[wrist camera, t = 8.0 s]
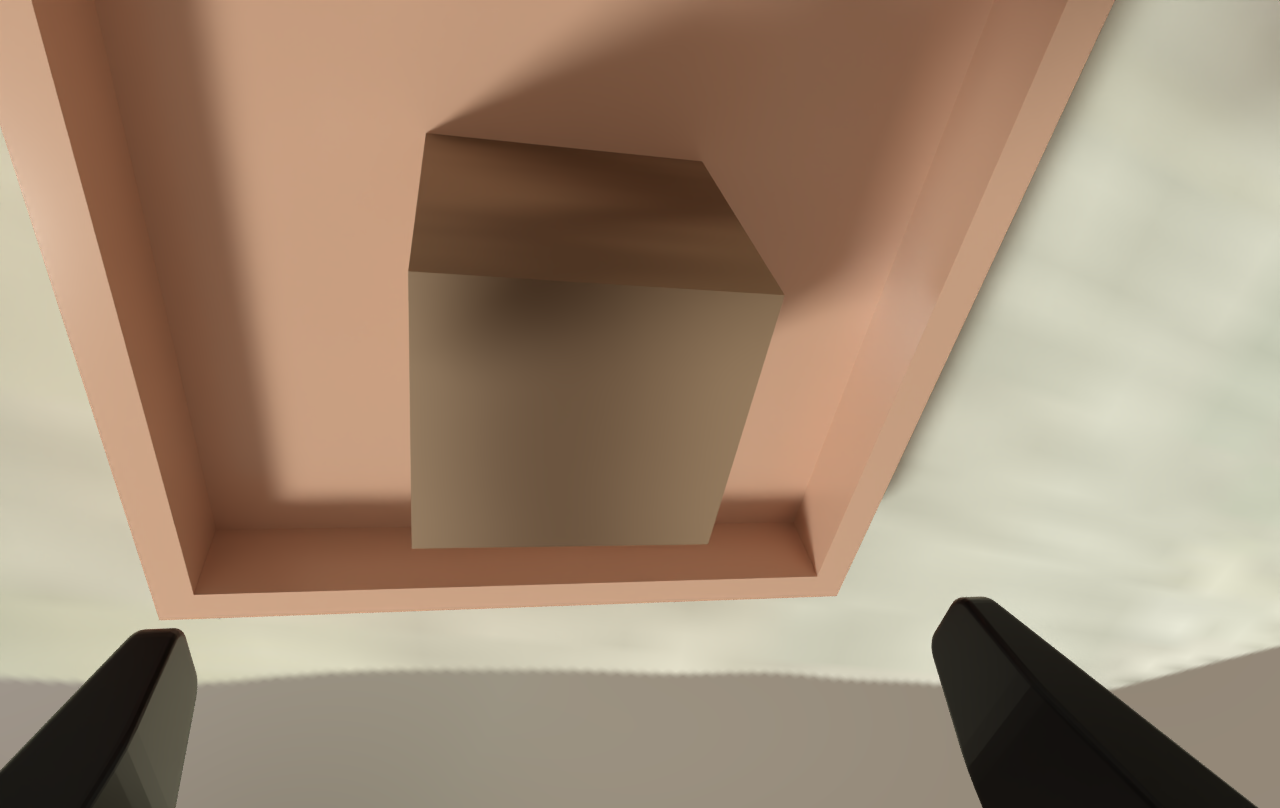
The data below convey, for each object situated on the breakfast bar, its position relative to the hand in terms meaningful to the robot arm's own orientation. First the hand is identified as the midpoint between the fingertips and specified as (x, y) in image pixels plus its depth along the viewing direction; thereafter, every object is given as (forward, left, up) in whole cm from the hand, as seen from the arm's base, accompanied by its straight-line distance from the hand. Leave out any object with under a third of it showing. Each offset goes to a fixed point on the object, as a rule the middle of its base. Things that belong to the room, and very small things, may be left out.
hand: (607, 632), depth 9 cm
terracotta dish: (0, 0, -9) cm, 9 cm away
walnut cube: (0, 0, -8) cm, 8 cm away
